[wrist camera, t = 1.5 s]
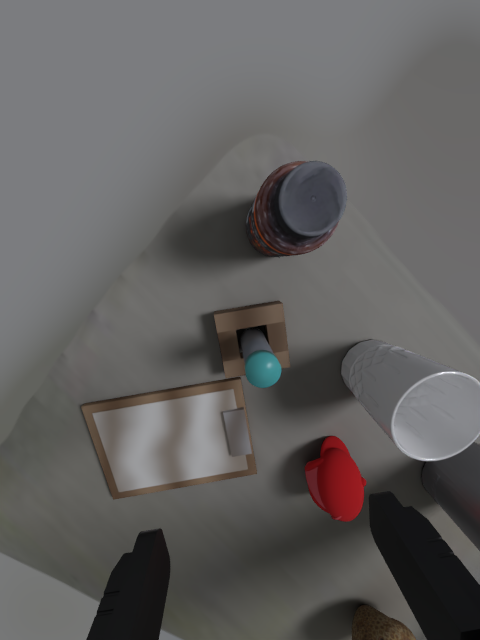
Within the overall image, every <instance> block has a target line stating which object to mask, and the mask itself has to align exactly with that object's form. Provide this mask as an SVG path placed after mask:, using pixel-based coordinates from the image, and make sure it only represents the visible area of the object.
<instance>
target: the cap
mask: <svg viewBox="0 0 480 640" xmlns="http://www.w3.org/2000/svg"><path fill="white" fill-rule="evenodd" d="M305 475H306V480H307V483H308V488H309V492H310V495H311V497H312V499H313V501H314V502H315V503H316V504H317V505H318V506H319V507H320V508H321V509H322V510H324V511H325V512H327V513H329V514H330V515H331V517H332V519H334V520H340V521H344V522H347V521H351V520H353V519H354V518H356V517H357V515H358V514H359V513H360V511H361V508H362V505H363V500H364V486H365V485H366V480H365V479H364V478H363V477H361V474H360V471H359V469H358V467H357V465H356V463H355V462H354V460H353V459H352V458H351V457H350V454H349V452H348V449H347V448H346V446H345V444H344V443H343V442H342V441H341V440H340V439H339V438H337V437H335V436H329V437H327V438H326V439H325V440H324V441H323V443H322V446H321V452H320V458H318V459H315V460H313V461H309V462H308V463H307V464H306V466H305Z"/></svg>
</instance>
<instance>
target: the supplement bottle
mask: <svg viewBox="0 0 480 640" xmlns="http://www.w3.org/2000/svg"><path fill="white" fill-rule="evenodd" d="M346 201H347V193H346V186H345V183H344V180H343V178H342V177H341V175H340V173H339V172H338V171H337V170H335V168H333V167H332V166H331V165H329V164H327V163H323V162H319V161H309V162H306V161H297V162H291V163H288V164H285V165H283V166H281V167H279V168H278V169H276V170H275V171H273V172H272V173H271V174H270V175H269V176H268V177H267V179H266V180H265V181H264V183H263V184H262V186H261V188H260V190H259V192H258V194H257V196H256V198H255V200H254V202H253V204H252V206H251V208H250V210H249V212H248V216H247V221H246V231H247V235H248V238H249V240H250V242H251V244H252V245H253V246H254V248H255V249H256V250H258V251H259V252H261V253H262V254H265V255H267V256H271V257H279V256H291V255H300V254H305V253H308V252H311V251H313V250H315V249H317V248H319V247H320V246H322V245H323V244H324V243H325V242H326V241H327V240H328V239H329V238H330V237H331V236H332V234H333V232H334V231H335V229H336V227H337V225H338V222H339V220H340V219H341V217H342V215H343V212H344V210H345V207H346ZM279 258H280V257H279Z"/></svg>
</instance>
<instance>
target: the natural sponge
mask: <svg viewBox="0 0 480 640" xmlns="http://www.w3.org/2000/svg"><path fill="white" fill-rule="evenodd" d="M352 640H416V639H415V637H414V635H413V634H412V632H411V631H410V630H409V629H408V628H407V627H406V626H405V625H404V624H403V623H401V622H399V621H397V620H395V619H393V618H389V617H388V616H386V615H384V614H383V613H381V612H380V611H378V610H376V609H374V608H372V607H371V606H367V605H362V606H360V607H358V609H357V610H356V612H355V615H354V618H353V623H352Z"/></svg>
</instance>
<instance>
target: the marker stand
mask: <svg viewBox="0 0 480 640" xmlns="http://www.w3.org/2000/svg"><path fill="white" fill-rule="evenodd" d="M214 318H215V324H216V329H217V334H218V340H219V345H220V350H221V355H222V361H223V366H224V371H225V376H226V378H230V377H236V376H242V375H246V373H245V363H244V358H243V352H241V353H240V352H239V346H238V340H237V334H236V330H237V329H243V328H249V327H255V326H261V325H265V332H266V339H267V342H268V344H269V346H270V347H271V349H272V351H273V353H274V355H275V356H276V357H277V359H278V361H279V363H280V365H281V369H282V368H288V367H290V360H289V352H288V344H287V336H286V327H285V319H284V311H283V303H281V302H280V301H274V302H268V303H262V304H256V305H250V306H244V307H238V308H232V309H226V310H220V311H215V312H214Z"/></svg>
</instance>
